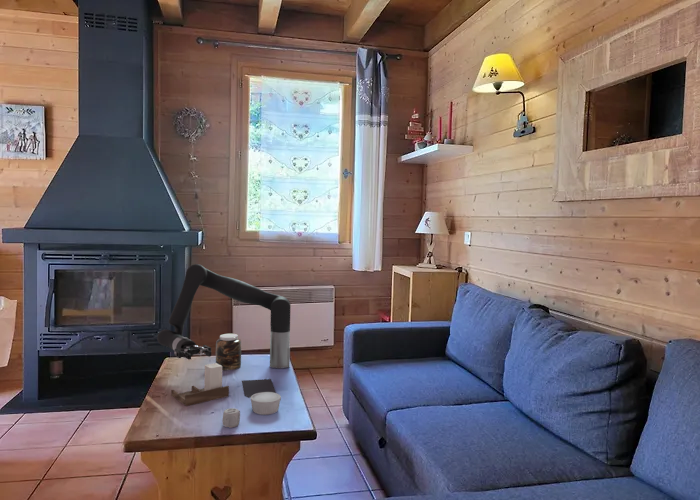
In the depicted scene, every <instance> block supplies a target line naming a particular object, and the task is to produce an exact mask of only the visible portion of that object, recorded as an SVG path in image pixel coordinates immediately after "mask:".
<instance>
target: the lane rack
mask: <svg viewBox="0 0 700 500" xmlns="http://www.w3.org/2000/svg"><path fill="white" fill-rule="evenodd" d="M170 394H171V395H170V396H171V397H173V398H175V399H176V400H177V401H178V402H180V403H181V404H182V405H184V406H186V407H188V406H191V405H197V404H202V403H205V402H209V401H214V400H218V399H223V398H228V397H230V386H229V385H226V386H222V387H220V388H215V389H210V390H206V391H204V388H198V387H196V386H195V385H192V386H191V390H190V391H186V392H180V393H179V392H177V391H176V390H174V389H171V393H170Z"/></svg>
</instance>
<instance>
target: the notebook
mask: <svg viewBox="0 0 700 500" xmlns="http://www.w3.org/2000/svg"><path fill="white" fill-rule="evenodd" d="M241 384H242V385H241V386H242V389H243V390H242V391H243V395H244V397H246V398H249V399H251V396H252V395H254V394H256V393H261V392H273V393H277V391H276V389H275V385H274V383H273V381H272V378H265V379H248V380H241Z"/></svg>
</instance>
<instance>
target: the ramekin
mask: <svg viewBox="0 0 700 500" xmlns="http://www.w3.org/2000/svg"><path fill="white" fill-rule="evenodd" d="M281 399H282V396H281V394H279V393H277V392H276V393H273V392H261V393H256V394H254V395H252V396H251V398H250V402H251V403H250V404H251V409H252V411H253V413H255V414H256V415H259V416H263V415H264V416H265V415H266V416H269V415H273V414H275V413H277V412H278V411H279V408H280V403H281Z"/></svg>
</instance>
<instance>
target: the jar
mask: <svg viewBox="0 0 700 500" xmlns="http://www.w3.org/2000/svg"><path fill="white" fill-rule="evenodd" d="M238 336H239V335H238V334H236V333H224V334H220V335H219V338H218V339H216V342H215V363H217V364H219V365H221V366H222V371H234V370H237V369H239V368H241V367H242V340H241V338H239V337H238Z"/></svg>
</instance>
